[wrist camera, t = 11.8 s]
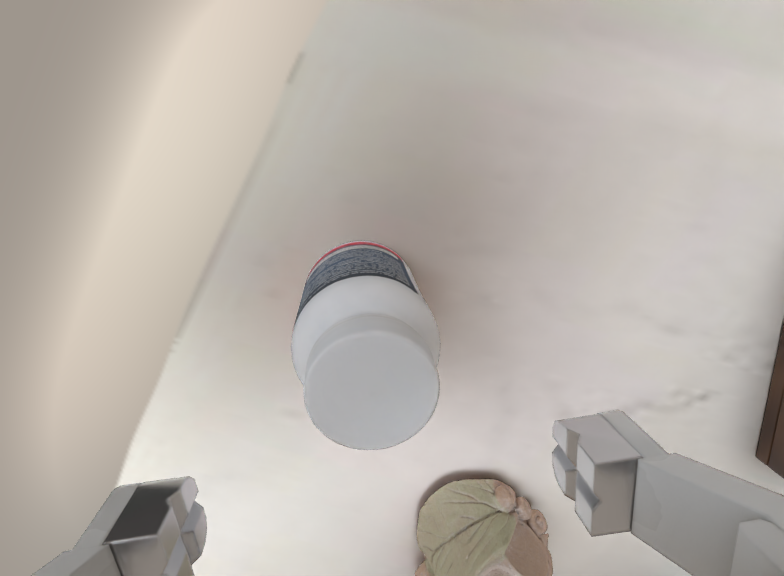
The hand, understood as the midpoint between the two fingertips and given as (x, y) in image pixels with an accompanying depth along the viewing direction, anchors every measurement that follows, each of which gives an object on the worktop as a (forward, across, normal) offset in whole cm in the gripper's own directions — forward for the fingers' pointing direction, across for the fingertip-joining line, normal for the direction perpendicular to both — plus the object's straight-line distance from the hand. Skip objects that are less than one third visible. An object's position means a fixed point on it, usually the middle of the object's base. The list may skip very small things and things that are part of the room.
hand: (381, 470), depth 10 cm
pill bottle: (+12, 0, 0) cm, 12 cm away
